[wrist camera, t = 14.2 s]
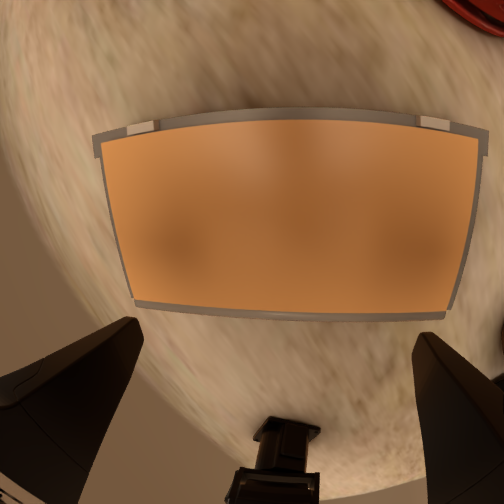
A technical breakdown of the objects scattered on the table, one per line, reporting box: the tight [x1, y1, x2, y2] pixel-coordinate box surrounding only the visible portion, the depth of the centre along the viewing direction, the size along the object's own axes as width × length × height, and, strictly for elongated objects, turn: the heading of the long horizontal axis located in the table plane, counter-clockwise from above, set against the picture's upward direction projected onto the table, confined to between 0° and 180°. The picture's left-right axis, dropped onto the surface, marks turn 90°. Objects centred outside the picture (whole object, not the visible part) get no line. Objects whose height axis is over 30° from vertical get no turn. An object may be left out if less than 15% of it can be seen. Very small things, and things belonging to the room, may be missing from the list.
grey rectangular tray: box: [92, 107, 489, 310], centre depth 15 cm, size 11×22×5 cm, turn 93°
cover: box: [101, 120, 478, 322], centre depth 14 cm, size 10×19×1 cm, turn 93°
